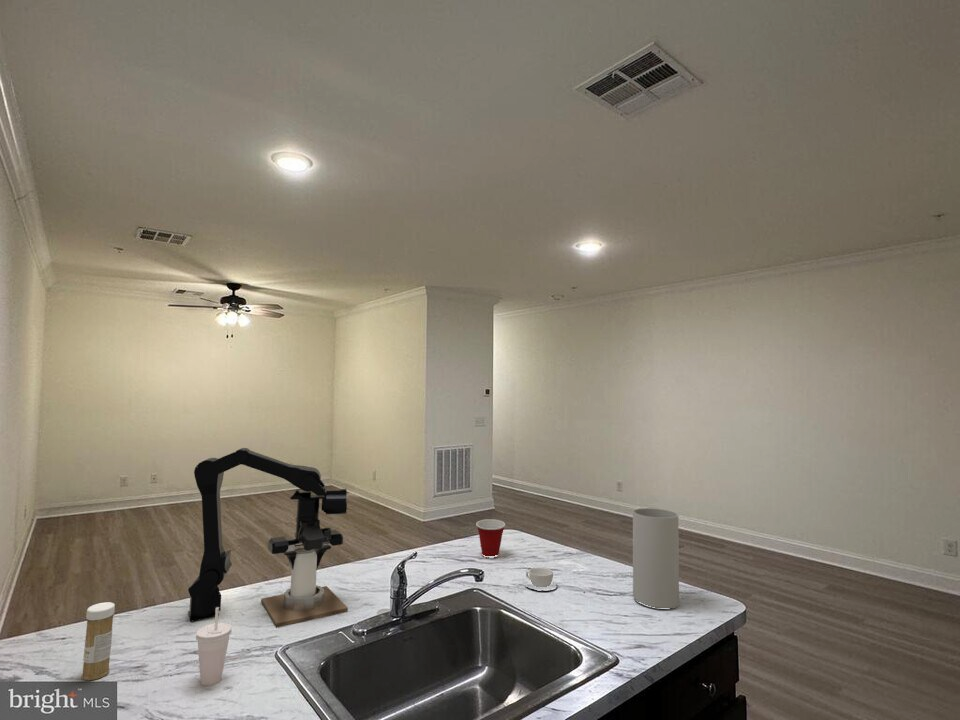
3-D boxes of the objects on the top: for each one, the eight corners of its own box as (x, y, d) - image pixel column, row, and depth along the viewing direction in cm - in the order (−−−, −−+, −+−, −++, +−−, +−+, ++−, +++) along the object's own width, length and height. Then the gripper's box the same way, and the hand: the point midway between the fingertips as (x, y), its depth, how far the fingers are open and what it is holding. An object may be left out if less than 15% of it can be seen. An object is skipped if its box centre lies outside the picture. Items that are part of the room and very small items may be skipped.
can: (306, 601, 131) (308, 554, 132) (285, 598, 133) (287, 552, 134) (320, 592, 138) (322, 547, 139) (299, 589, 139) (301, 545, 140)
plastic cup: (472, 560, 178) (473, 525, 179) (477, 551, 188) (478, 518, 189) (503, 562, 176) (503, 527, 177) (506, 553, 187) (507, 520, 188)
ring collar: (289, 613, 128) (289, 601, 129) (279, 600, 137) (280, 589, 137) (328, 605, 134) (328, 594, 134) (316, 593, 142) (317, 582, 142)
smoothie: (204, 693, 95) (208, 616, 96) (185, 682, 99) (190, 608, 100) (235, 677, 101) (240, 605, 102) (217, 668, 104) (221, 598, 105)
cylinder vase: (664, 614, 135) (664, 520, 137) (624, 600, 145) (624, 511, 147) (687, 603, 144) (686, 514, 145) (647, 590, 153) (647, 506, 155)
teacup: (562, 585, 156) (562, 570, 156) (549, 595, 147) (549, 579, 148) (533, 578, 161) (533, 563, 161) (518, 588, 153) (519, 572, 153)
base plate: (276, 627, 123) (276, 623, 123) (260, 602, 138) (261, 598, 138) (347, 611, 133) (347, 607, 133) (326, 589, 148) (326, 586, 148)
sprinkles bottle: (78, 675, 100) (84, 606, 101) (106, 666, 104) (111, 599, 105) (84, 684, 97) (90, 612, 98) (112, 674, 101) (118, 605, 102)
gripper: (278, 525, 125) (275, 590, 124) (351, 517, 136) (348, 577, 134) (269, 516, 134) (265, 576, 133) (337, 509, 145) (334, 565, 144)
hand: (304, 573), depth 136 cm, fingers closed on can, 5 cm apart
